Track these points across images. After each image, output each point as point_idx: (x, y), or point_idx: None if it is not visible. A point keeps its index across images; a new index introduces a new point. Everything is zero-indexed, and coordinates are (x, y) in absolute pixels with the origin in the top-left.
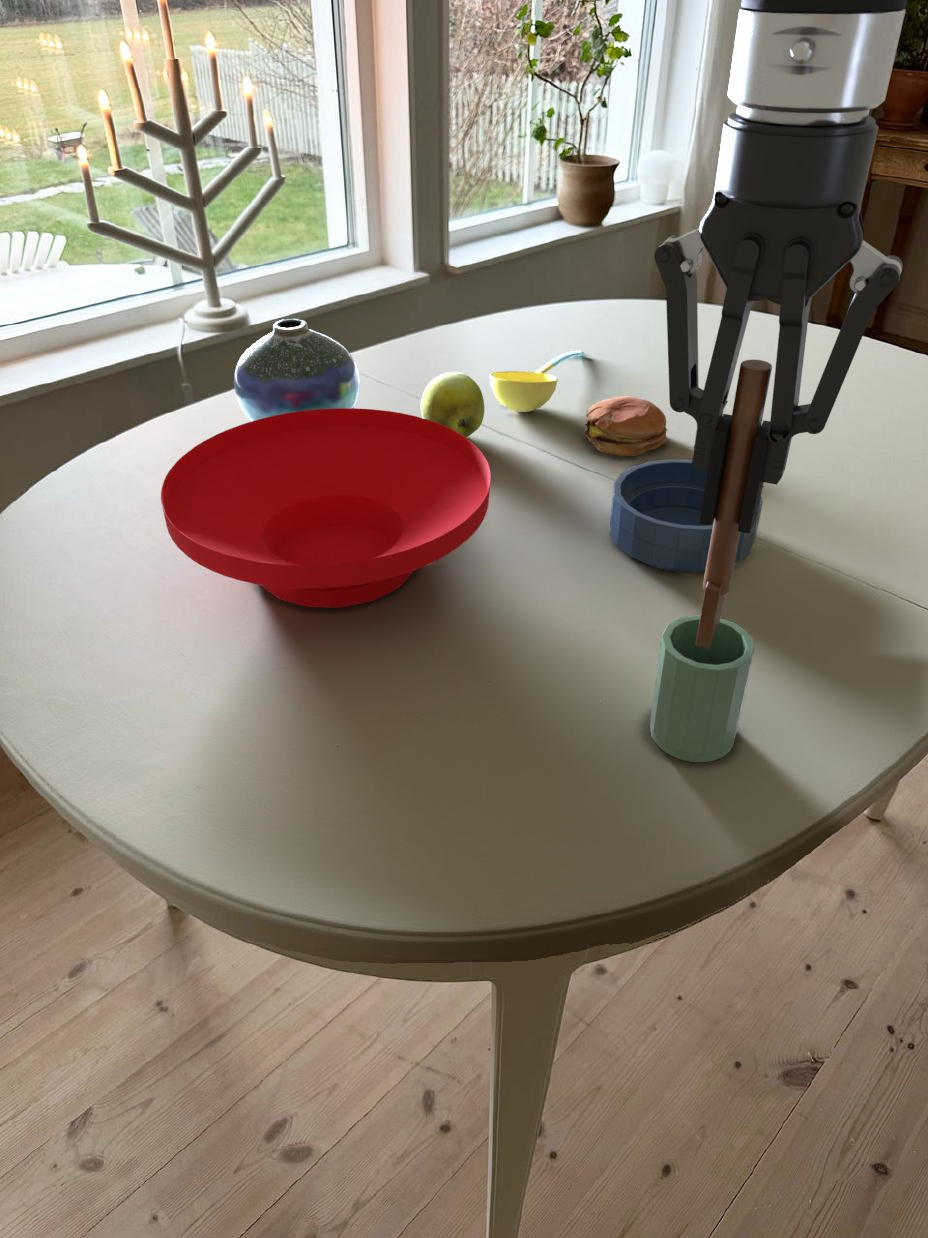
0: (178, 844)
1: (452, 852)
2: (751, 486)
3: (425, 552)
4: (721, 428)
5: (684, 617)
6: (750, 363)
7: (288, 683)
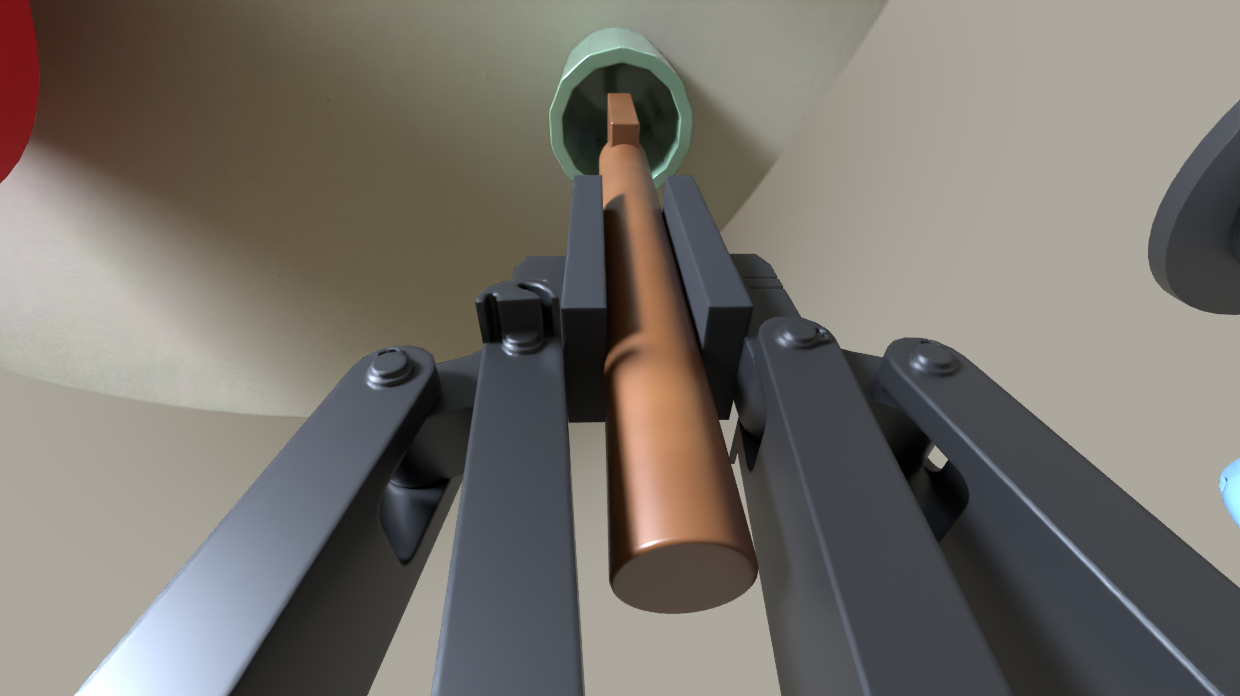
0: (281, 403)
1: (466, 336)
2: None
3: (8, 37)
4: (585, 407)
5: (568, 77)
6: (654, 579)
7: (131, 213)
